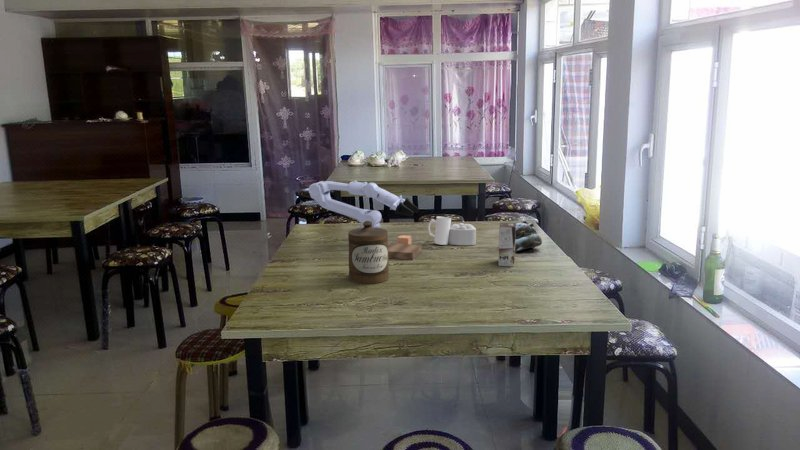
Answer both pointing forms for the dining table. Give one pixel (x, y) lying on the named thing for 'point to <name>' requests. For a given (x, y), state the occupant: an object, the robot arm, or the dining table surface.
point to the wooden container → (368, 254)
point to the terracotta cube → (404, 239)
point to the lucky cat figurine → (526, 236)
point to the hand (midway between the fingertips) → (415, 212)
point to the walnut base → (404, 251)
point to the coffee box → (507, 244)
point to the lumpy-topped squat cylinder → (462, 234)
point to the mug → (440, 230)
